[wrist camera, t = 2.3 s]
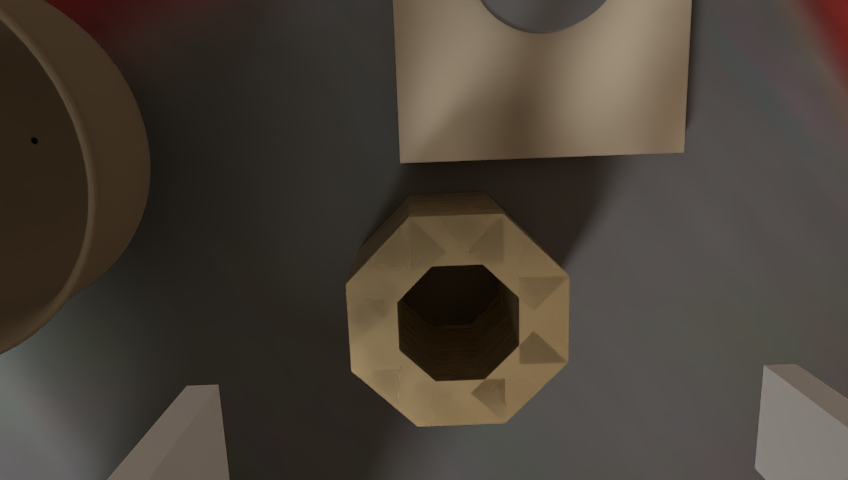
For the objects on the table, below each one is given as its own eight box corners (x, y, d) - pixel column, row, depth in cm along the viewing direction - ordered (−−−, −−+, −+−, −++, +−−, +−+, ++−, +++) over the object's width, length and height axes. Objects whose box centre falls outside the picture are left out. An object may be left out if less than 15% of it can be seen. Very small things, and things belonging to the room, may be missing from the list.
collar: (367, 364, 28) (355, 429, 23) (357, 196, 27) (341, 219, 21) (536, 357, 29) (567, 420, 23) (536, 189, 27) (570, 211, 21)
